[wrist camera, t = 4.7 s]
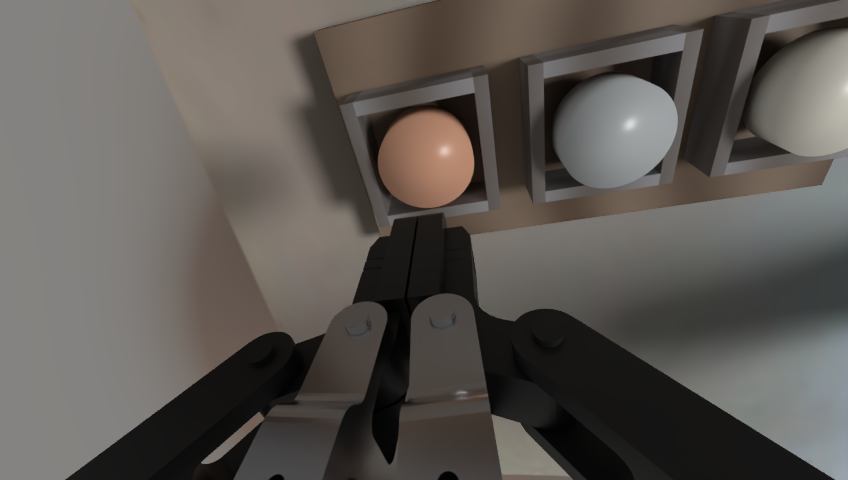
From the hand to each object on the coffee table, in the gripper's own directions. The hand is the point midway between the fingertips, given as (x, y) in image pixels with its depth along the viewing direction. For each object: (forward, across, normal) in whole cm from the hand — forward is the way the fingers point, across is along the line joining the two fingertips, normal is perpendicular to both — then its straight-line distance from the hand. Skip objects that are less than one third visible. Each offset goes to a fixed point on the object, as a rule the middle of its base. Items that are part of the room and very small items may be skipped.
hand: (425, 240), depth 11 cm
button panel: (+11, -8, 0) cm, 13 cm away
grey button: (+8, -8, 0) cm, 11 cm away
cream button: (+8, -16, 0) cm, 17 cm away
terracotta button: (+8, 0, 0) cm, 8 cm away
